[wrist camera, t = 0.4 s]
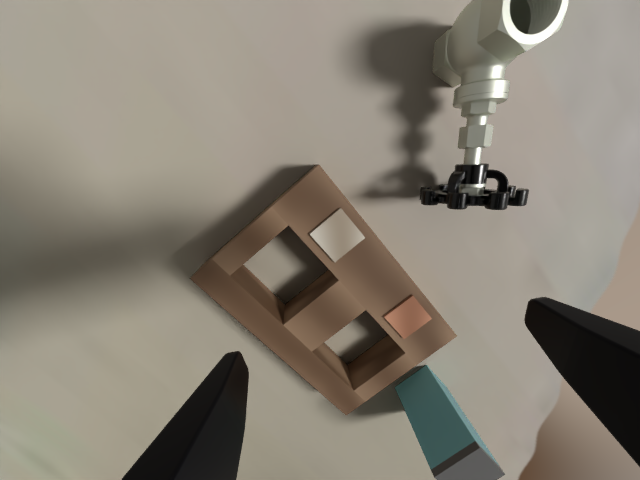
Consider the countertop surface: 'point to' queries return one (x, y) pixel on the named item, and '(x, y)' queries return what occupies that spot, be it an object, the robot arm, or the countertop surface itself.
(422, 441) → the plug
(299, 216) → the socket plate
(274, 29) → the countertop surface
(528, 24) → the valve
